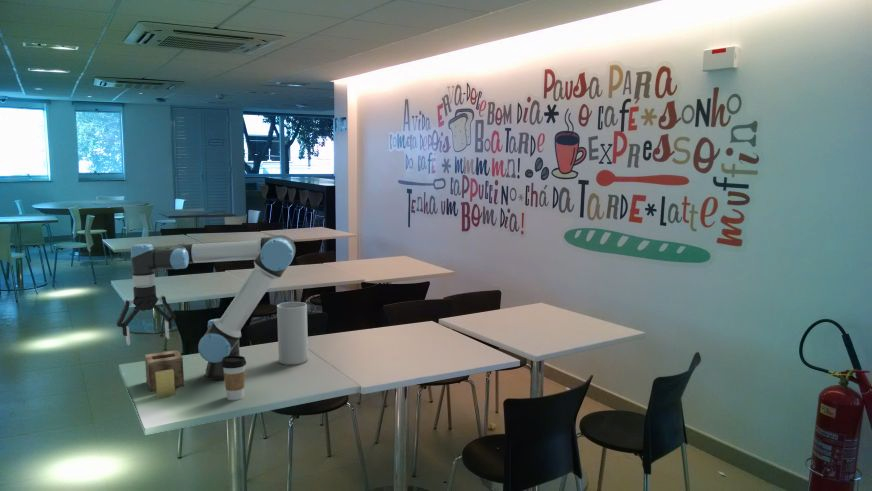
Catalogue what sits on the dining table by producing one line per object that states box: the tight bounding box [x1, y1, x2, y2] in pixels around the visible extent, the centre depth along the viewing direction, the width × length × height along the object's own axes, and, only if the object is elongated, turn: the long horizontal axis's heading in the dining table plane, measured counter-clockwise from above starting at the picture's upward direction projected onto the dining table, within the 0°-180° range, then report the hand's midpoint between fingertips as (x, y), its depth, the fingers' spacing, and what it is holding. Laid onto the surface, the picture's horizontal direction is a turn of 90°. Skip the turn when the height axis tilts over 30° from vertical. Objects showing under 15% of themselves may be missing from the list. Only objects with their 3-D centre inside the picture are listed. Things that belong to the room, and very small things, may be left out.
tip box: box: [144, 349, 185, 392], centre depth 235 cm, size 12×12×11 cm
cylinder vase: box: [276, 301, 309, 366], centre depth 262 cm, size 12×12×25 cm
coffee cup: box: [222, 355, 247, 401], centre depth 220 cm, size 8×8×15 cm
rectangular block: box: [155, 369, 176, 399], centre depth 223 cm, size 6×3×9 cm, turn 121°
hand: (148, 340), depth 227 cm, fingers open, 13 cm apart
